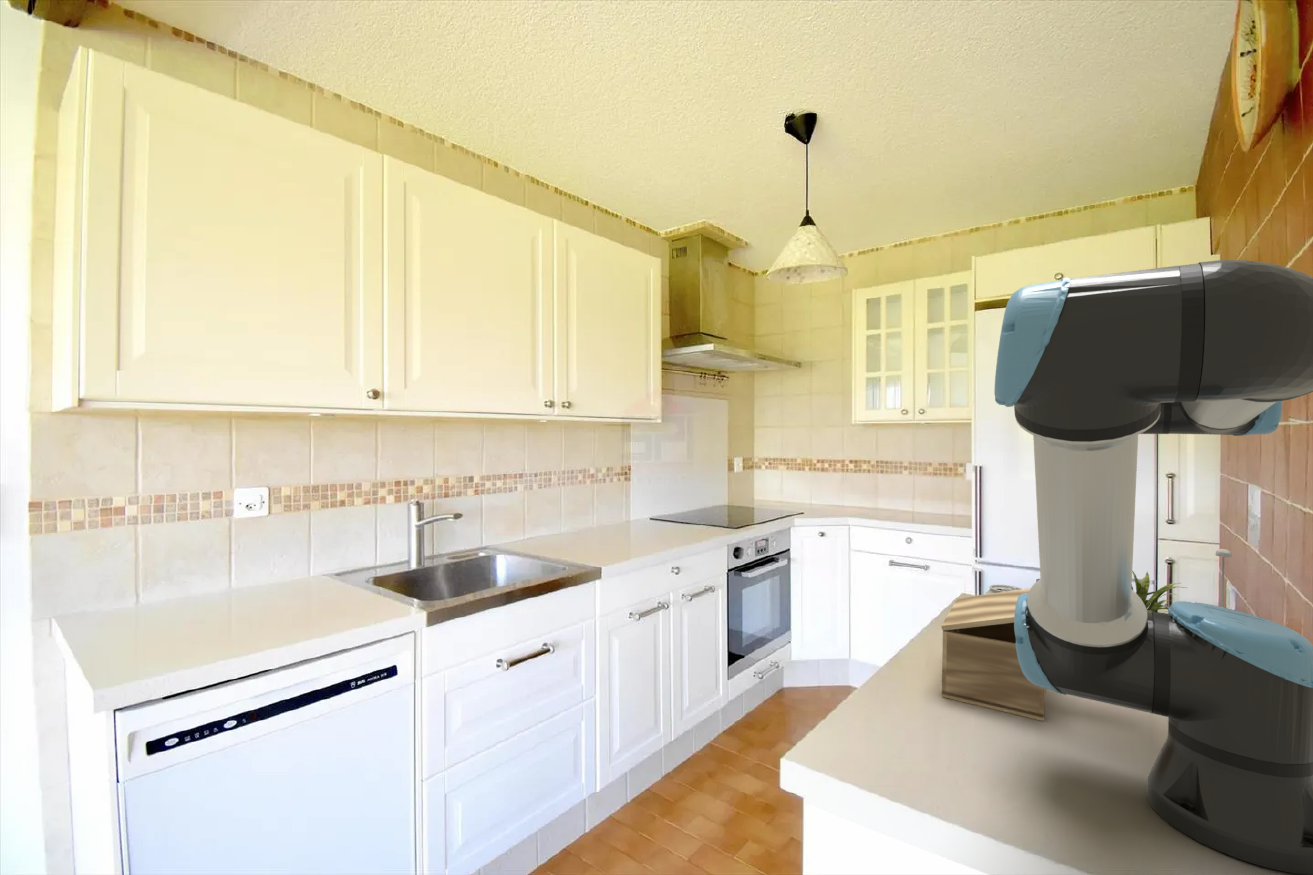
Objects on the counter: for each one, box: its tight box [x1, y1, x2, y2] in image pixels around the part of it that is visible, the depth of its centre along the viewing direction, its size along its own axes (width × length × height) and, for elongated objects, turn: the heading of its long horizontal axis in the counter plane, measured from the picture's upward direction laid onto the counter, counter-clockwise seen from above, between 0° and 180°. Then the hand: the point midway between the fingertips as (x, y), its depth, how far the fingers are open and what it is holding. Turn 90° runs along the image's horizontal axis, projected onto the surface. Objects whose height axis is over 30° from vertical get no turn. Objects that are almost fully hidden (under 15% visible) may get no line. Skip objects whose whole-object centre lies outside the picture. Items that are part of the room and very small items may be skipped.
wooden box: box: [941, 623, 1046, 722], centre depth 101 cm, size 20×14×11 cm
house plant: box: [1131, 570, 1187, 613], centre depth 116 cm, size 14×14×16 cm
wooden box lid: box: [940, 578, 1040, 632], centre depth 98 cm, size 20×24×6 cm
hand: (1094, 619), depth 93 cm, fingers closed on wooden box lid, 2 cm apart
